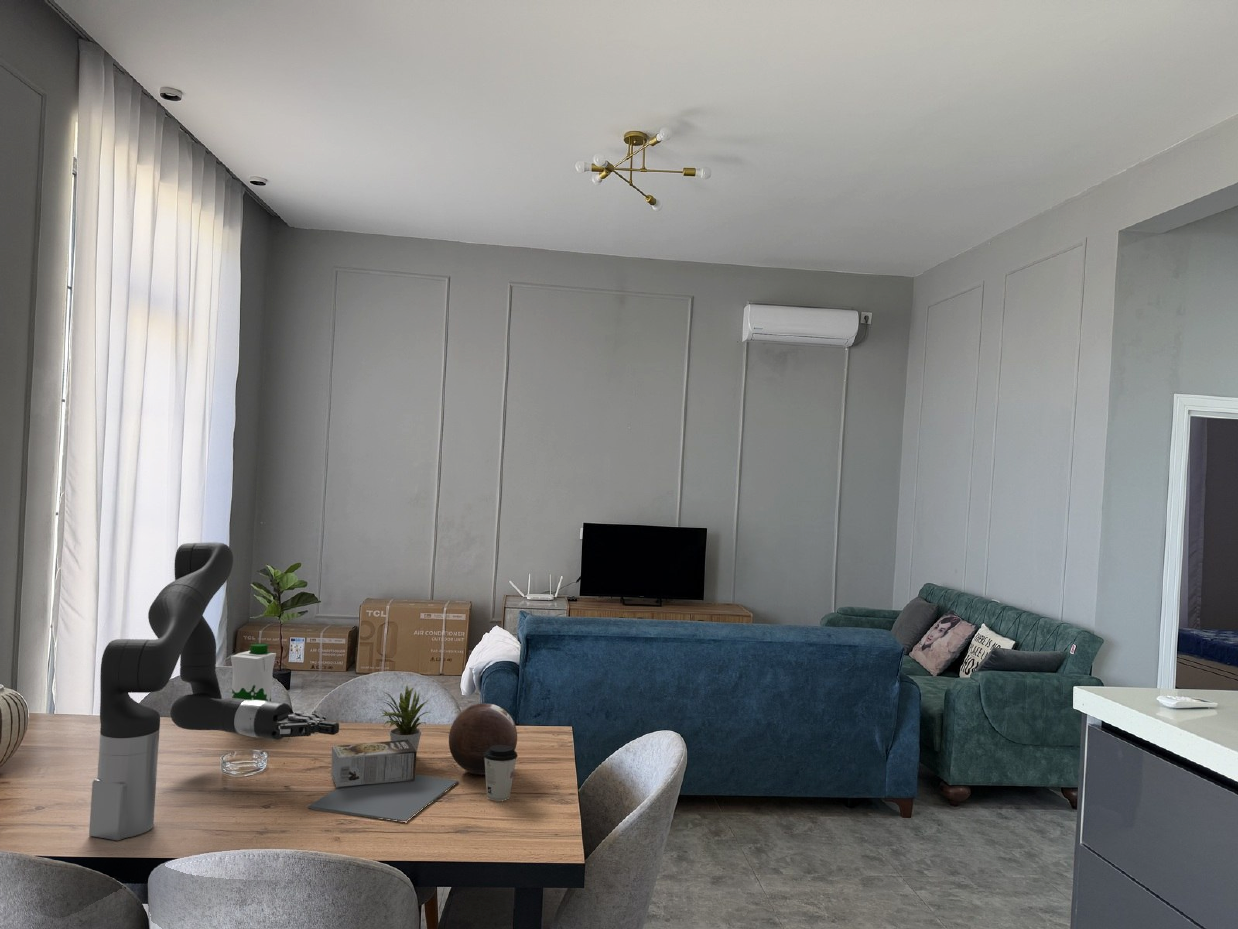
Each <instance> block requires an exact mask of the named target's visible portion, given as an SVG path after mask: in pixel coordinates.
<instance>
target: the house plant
mask: <svg viewBox="0 0 1238 929" xmlns="http://www.w3.org/2000/svg"><path fill="white" fill-rule="evenodd" d="M413 691H414V693H413ZM381 692H382V693H385V694H386V695H385V696H387V697H390V700H391V701H392V702H390V701H388V700H385V699H384V701H385V702H386V704H387V706H389V707H390V709H392V711H393V712H388V711H386V710H383V709H379V710H380V711H383V713H382V715H380V717H379V719H380V718H384V717H387V719H388V720H386V721H385V722H384V725H383V726H385V725H387V724H389V725H390V726H389V728H391V727H392V726H394V725H395V726H396V727H394V728H391V729H390V730H389V737H390V741H397V740H407V739H408V740H409V742H410V743H411V744H412V746H413V747H414V748H415V750H416V751H417V752H418V749H419V745H420V740H421V735H422V730H421V729H420V728H418V727H419V726H420V725H421V724H425V725H427V723H426V722H419V721H420V719H421V718H420V717H422V716H423V715H425V714H428V713H430V714H431V713H432V714H433V712H432V711H425V712H423V713H421V714H420V715H418V714H419V713H420V711H421V709H422V708H423V706H424V705H425V704H427V702H429V699H427V700H426V701H424V702H423V703H421V704H420V705H419V702H420V693H418V694H417V690H416V689H415V690H414V687H412V688H411V689H409V686H408V685H406V686H405V690H404V692H405V693H404V696H403V693H402V692H400V694H399V701H398V704H397V702H396V700H395V698H393V696H391V694H389V693H388V692H385V691H382V690H380V693H381ZM412 694H413V696H412ZM412 697H413V698H412ZM411 698H412V702H411ZM376 700H377V701H383V698H382V699H376ZM418 705H419V706H418ZM393 718H394V719H395V720H394V719H393Z"/></svg>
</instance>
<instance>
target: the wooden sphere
mask: <svg viewBox="0 0 1238 929" xmlns="http://www.w3.org/2000/svg"><path fill="white" fill-rule="evenodd" d="M517 743H518V730H517V727H516V723H515V721H514V720H513V718H512V716H511V715H510V714H509V713H508V712H507V711H506V710H505V709H504V708H503V707H501V706H498V705H496V704H492V703H486V702H485V703H484V702H483V703H476V704H473V705H471V706H468V707H467V708H465V709H463V710H462V711H461V712H460V713H459V714H457V716H456V717H455V719H454V720H453V722H452V724H451V727H450V730H449V733H448V746H449V751H450V754H451V756H452V758H453V761H455V763H456V764H457V765H458V766H459V767H460V768H461V769H463V770H464V771H466V772H468V773H471V774H475V775H486V773H485V757H484V753H485V751H487V750H489V748H490V747H491V746H494V745H507V746H512V747H513V748H514V751H516V748H517V745H518V744H517Z"/></svg>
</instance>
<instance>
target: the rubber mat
mask: <svg viewBox="0 0 1238 929" xmlns="http://www.w3.org/2000/svg"><path fill="white" fill-rule="evenodd" d="M457 782H458V783H459V779H453V778H452V779H451V778H443V777H437V776H429V775H424V774H423V775H422V774H416V773H415V780H411V781H401V782H391V783H380V784H369V785H358V786H347V787H336V789H335V788H334V790H332V791H330V792H329V793H327V794H326V795H323V796H322V797H320V798H319V799H317V800H315V801H313V802H311V804H308V805H307V809H309V808H311V809H310V810H315V809H316V811H321V812H328V811H330V813H335V814H343V815H348V814H350V816H354V815H359V816H358V817H361V816H364V817H363V818H367V817H371V818H370V819H374V818H383V819H390V820H397V821H407V820H408V819H409V818H411V817H412V816H413V815H414V814H416V813H417V812H418V811H420V810H421V809H422V808H424V807H425V806H426V805H428V804H429V803H431V802H432V801H434V800H435V799H436V798H437V797H439V796H440V795H441V794H443V793H444V792H445V791H446V790H448V789H449V788H450V787H452V786H453V785H454V784H456V783H457ZM458 783H457V784H458ZM457 784H456V785H457ZM453 787H454V786H453ZM453 787H452V788H453ZM449 790H450V789H449ZM449 790H448V791H449ZM445 793H446V792H445ZM445 793H444V794H445ZM444 794H443V795H444ZM440 797H441V796H440ZM440 797H439V798H440ZM436 800H437V799H436ZM436 800H435V801H436ZM435 801H434V802H435ZM431 804H432V803H431Z"/></svg>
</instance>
